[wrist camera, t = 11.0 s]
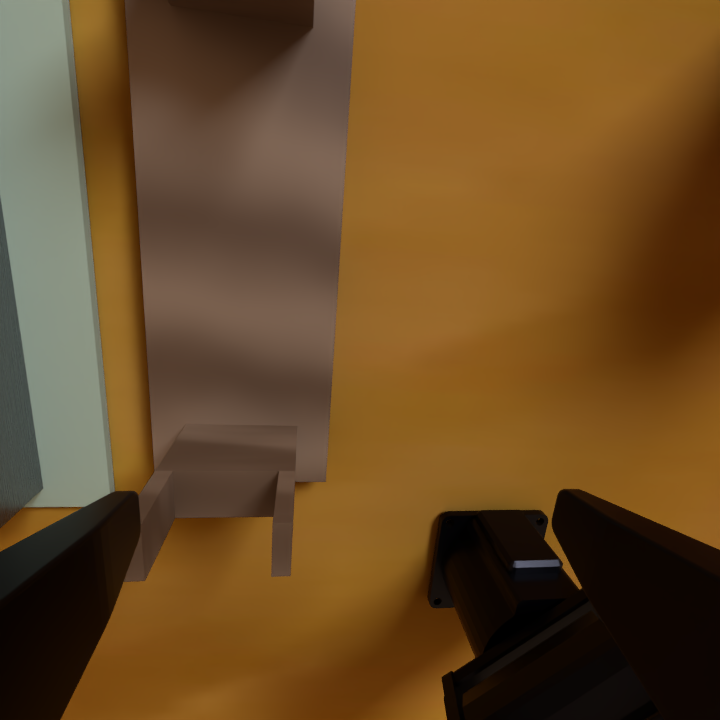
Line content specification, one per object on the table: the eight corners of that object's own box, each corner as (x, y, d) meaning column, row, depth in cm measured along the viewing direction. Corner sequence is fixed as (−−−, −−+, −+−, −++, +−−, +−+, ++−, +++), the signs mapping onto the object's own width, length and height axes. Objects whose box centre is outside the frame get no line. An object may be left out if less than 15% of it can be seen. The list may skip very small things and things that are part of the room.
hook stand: (324, 465, 22) (335, 598, 14) (165, 465, 21) (73, 610, 12) (354, -38, 16) (406, -333, 8) (135, -78, 15) (-74, -472, 7)
